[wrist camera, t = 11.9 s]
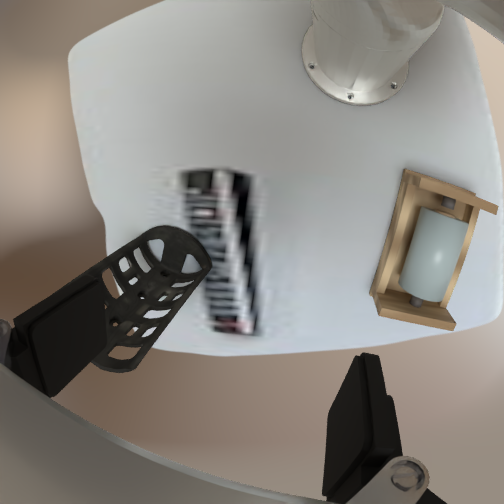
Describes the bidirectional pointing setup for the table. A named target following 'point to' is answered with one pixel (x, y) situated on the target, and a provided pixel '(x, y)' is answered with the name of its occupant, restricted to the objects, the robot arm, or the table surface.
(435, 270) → the roll
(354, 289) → the table surface
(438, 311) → the cradle
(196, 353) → the table surface
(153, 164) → the table surface
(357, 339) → the table surface
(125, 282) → the holder
